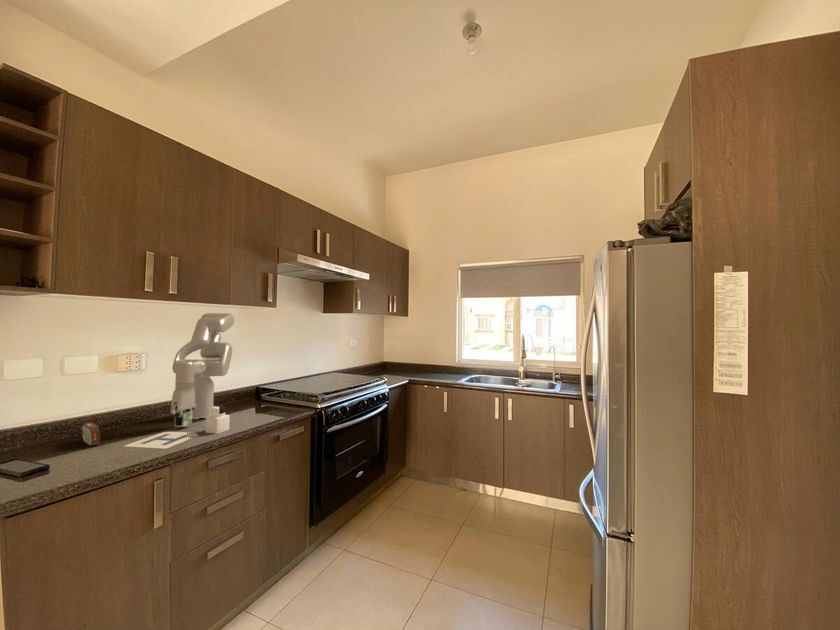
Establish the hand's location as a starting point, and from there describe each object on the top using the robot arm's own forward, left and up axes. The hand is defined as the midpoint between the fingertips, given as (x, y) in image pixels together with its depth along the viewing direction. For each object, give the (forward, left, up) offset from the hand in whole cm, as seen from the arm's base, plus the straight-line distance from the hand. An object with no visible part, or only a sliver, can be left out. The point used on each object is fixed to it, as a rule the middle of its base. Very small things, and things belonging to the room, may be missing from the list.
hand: (183, 423), depth 164 cm
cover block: (0, 0, -1) cm, 1 cm away
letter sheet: (+16, +6, -2) cm, 17 cm away
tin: (+25, -21, -3) cm, 33 cm away
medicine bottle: (+2, +20, -3) cm, 20 cm away
